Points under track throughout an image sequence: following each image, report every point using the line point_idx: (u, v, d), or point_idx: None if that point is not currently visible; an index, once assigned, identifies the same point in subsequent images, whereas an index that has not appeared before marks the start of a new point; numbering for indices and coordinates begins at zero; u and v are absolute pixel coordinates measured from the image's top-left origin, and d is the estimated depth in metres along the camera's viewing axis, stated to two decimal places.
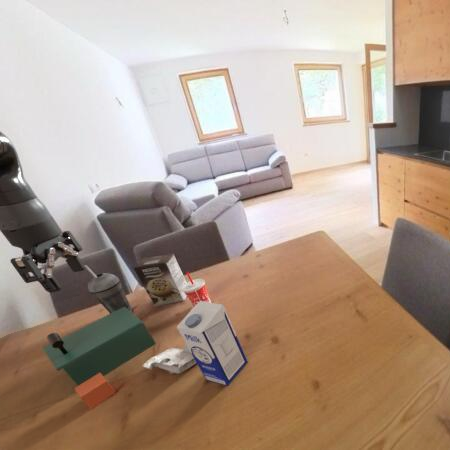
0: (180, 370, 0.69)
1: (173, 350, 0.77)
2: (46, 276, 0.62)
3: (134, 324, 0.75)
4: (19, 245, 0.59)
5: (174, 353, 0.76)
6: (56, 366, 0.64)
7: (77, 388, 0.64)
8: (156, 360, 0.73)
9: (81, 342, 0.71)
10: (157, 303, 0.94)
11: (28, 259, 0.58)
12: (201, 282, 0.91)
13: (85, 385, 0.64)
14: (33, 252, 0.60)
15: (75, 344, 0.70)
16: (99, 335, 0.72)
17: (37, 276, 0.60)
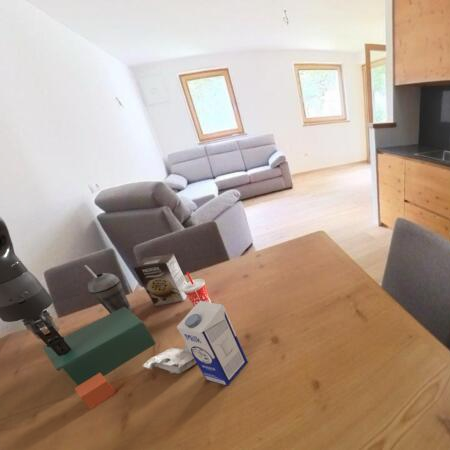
0: (180, 370, 0.69)
1: (173, 350, 0.77)
2: None
3: (134, 324, 0.75)
4: (26, 316, 0.60)
5: (174, 353, 0.76)
6: (56, 366, 0.64)
7: (77, 388, 0.64)
8: (156, 360, 0.73)
9: (81, 342, 0.71)
10: (157, 303, 0.94)
11: (52, 325, 0.62)
12: (201, 282, 0.91)
13: (85, 385, 0.64)
14: (43, 318, 0.62)
15: (75, 344, 0.70)
16: (99, 335, 0.72)
17: (61, 337, 0.64)
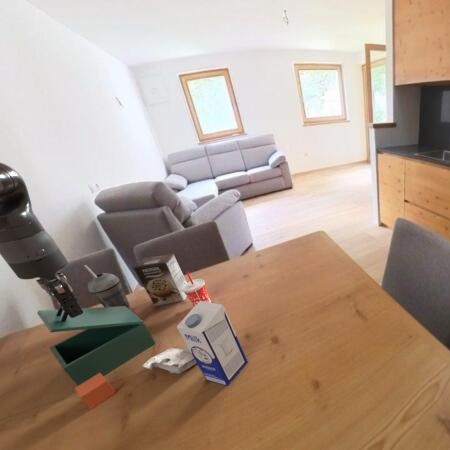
0: (180, 370, 0.69)
1: (173, 350, 0.77)
2: None
3: (135, 320, 0.75)
4: (42, 274, 0.61)
5: (174, 353, 0.76)
6: (52, 327, 0.63)
7: (77, 388, 0.64)
8: (156, 360, 0.73)
9: (79, 318, 0.69)
10: (157, 303, 0.94)
11: (67, 285, 0.63)
12: (201, 282, 0.91)
13: (85, 385, 0.64)
14: (57, 278, 0.63)
15: None
16: (99, 318, 0.72)
17: (74, 297, 0.65)
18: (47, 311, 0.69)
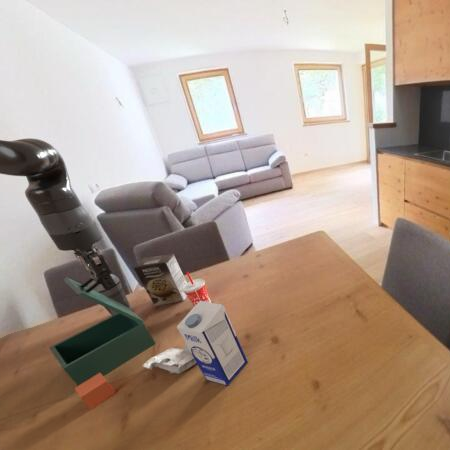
0: (180, 370, 0.69)
1: (173, 350, 0.77)
2: None
3: (138, 318, 0.76)
4: (80, 246, 0.65)
5: (174, 353, 0.76)
6: (82, 291, 0.66)
7: (77, 388, 0.64)
8: (156, 360, 0.73)
9: (97, 296, 0.72)
10: (157, 303, 0.94)
11: (103, 257, 0.67)
12: (201, 282, 0.91)
13: (85, 385, 0.64)
14: (94, 250, 0.67)
15: (93, 293, 0.71)
16: (111, 303, 0.73)
17: (109, 269, 0.69)
18: (73, 280, 0.71)
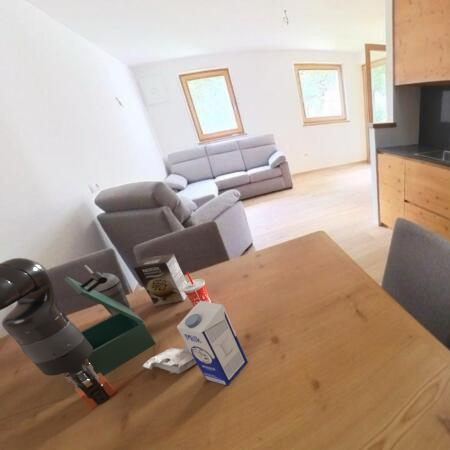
0: (180, 370, 0.69)
1: (173, 350, 0.77)
2: None
3: (138, 318, 0.76)
4: (69, 369, 0.58)
5: (174, 353, 0.76)
6: (82, 290, 0.66)
7: None
8: (156, 360, 0.73)
9: (98, 295, 0.72)
10: (157, 303, 0.94)
11: (95, 377, 0.60)
12: (201, 282, 0.91)
13: None
14: (84, 370, 0.60)
15: (93, 293, 0.71)
16: (111, 302, 0.73)
17: (101, 387, 0.62)
18: (73, 280, 0.71)
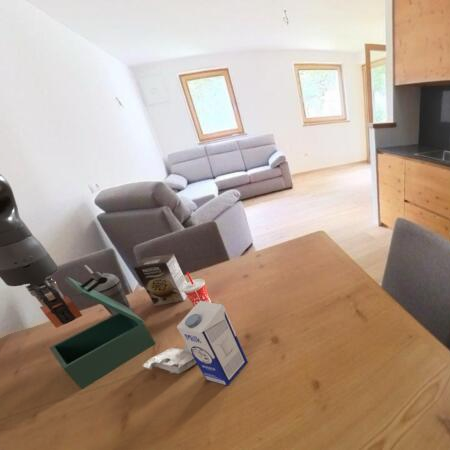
0: (180, 370, 0.69)
1: (173, 350, 0.77)
2: None
3: (138, 318, 0.76)
4: (31, 281, 0.59)
5: (174, 353, 0.76)
6: (82, 290, 0.66)
7: (42, 307, 0.65)
8: (156, 360, 0.73)
9: (98, 295, 0.72)
10: (157, 303, 0.94)
11: (58, 292, 0.61)
12: (201, 282, 0.91)
13: None
14: (47, 284, 0.61)
15: (93, 293, 0.71)
16: (111, 302, 0.73)
17: (65, 304, 0.63)
18: (73, 280, 0.71)
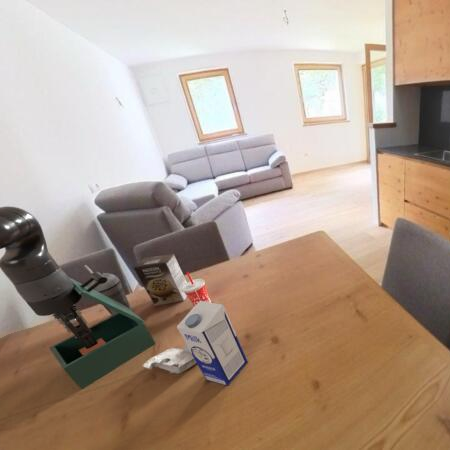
0: (180, 370, 0.69)
1: (173, 350, 0.77)
2: None
3: (138, 318, 0.76)
4: (59, 310, 0.64)
5: (174, 353, 0.76)
6: (82, 290, 0.66)
7: (81, 350, 0.73)
8: (156, 360, 0.73)
9: (98, 295, 0.72)
10: (157, 303, 0.94)
11: (81, 318, 0.66)
12: (201, 282, 0.91)
13: None
14: (73, 313, 0.66)
15: (93, 293, 0.71)
16: (111, 302, 0.73)
17: (89, 330, 0.67)
18: (73, 280, 0.71)
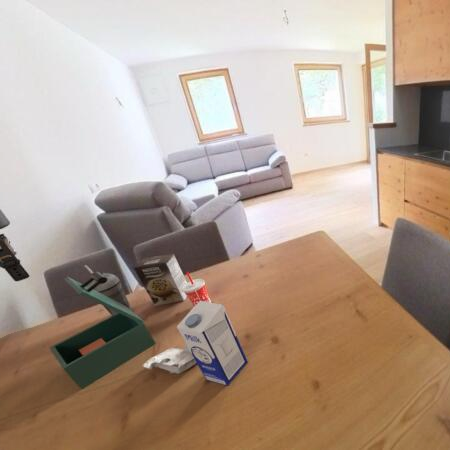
0: (180, 370, 0.69)
1: (173, 350, 0.77)
2: None
3: (138, 318, 0.76)
4: None
5: (174, 353, 0.76)
6: (82, 290, 0.66)
7: (81, 350, 0.73)
8: (156, 360, 0.73)
9: (98, 295, 0.72)
10: (157, 303, 0.94)
11: (4, 241, 0.58)
12: (201, 282, 0.91)
13: (88, 347, 0.73)
14: None
15: (93, 293, 0.71)
16: (111, 302, 0.73)
17: (16, 258, 0.60)
18: (73, 280, 0.71)
